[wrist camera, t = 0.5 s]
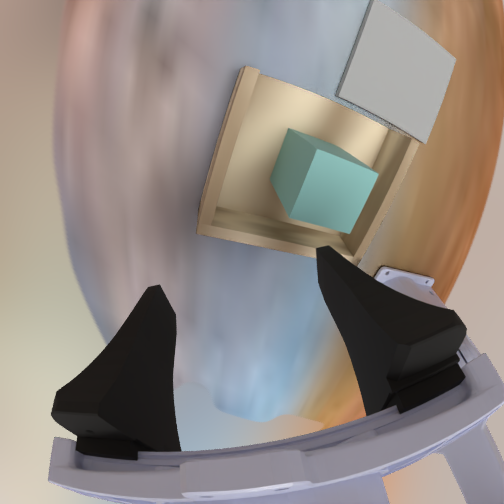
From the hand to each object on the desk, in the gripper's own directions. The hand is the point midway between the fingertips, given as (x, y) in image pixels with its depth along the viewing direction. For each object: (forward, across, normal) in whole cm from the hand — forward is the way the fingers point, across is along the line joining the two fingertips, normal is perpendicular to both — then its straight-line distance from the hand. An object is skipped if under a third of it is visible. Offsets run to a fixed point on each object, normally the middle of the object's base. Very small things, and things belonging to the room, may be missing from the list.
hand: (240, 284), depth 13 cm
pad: (+10, -15, -8) cm, 20 cm away
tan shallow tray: (+10, -6, -2) cm, 12 cm away
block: (+10, -6, -2) cm, 11 cm away
